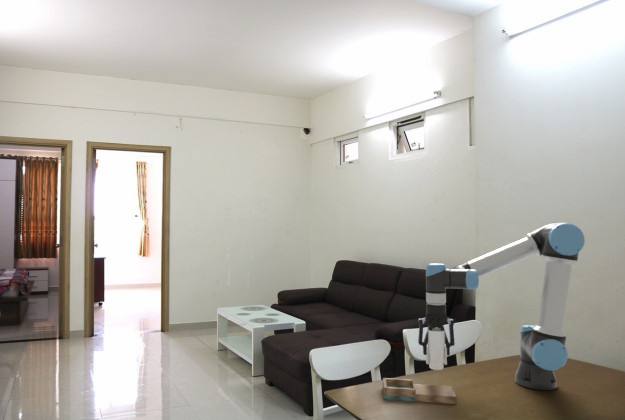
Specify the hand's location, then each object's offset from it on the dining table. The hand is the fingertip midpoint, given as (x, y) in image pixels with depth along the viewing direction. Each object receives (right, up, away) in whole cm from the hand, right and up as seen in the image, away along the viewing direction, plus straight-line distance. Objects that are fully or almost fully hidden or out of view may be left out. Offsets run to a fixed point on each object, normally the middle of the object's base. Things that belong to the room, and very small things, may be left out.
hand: (436, 363), depth 189 cm
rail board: (-9, -8, -12) cm, 17 cm away
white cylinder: (0, -2, 0) cm, 2 cm away
